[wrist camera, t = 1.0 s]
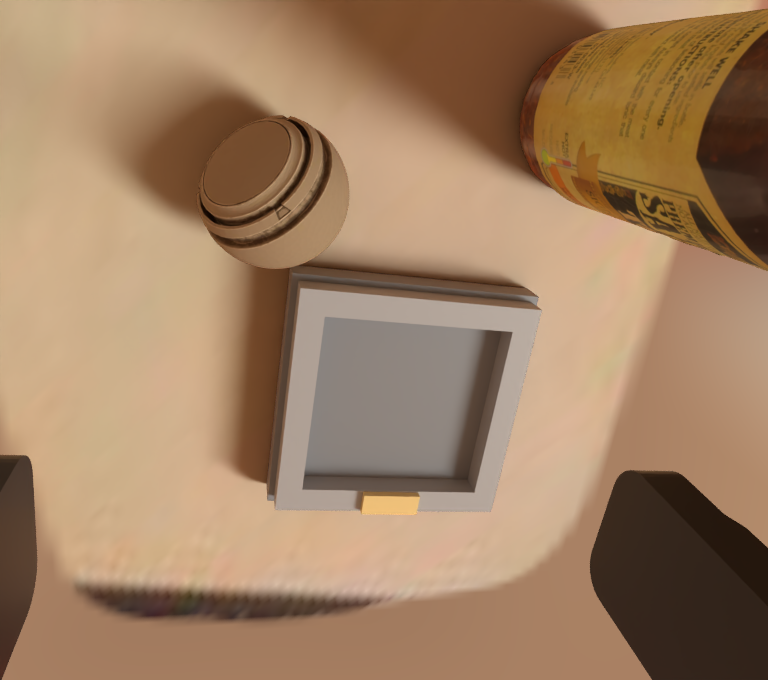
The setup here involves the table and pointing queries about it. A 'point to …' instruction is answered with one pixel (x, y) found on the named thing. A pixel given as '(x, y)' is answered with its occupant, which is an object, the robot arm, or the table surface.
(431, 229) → the table surface
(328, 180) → the door knob
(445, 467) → the grey square tray
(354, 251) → the table surface
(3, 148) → the table surface
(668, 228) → the sauce bottle
